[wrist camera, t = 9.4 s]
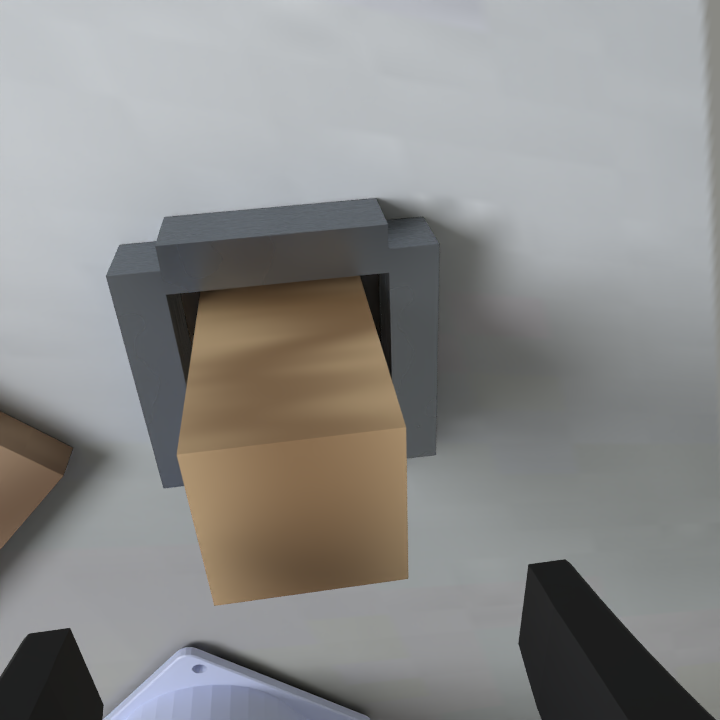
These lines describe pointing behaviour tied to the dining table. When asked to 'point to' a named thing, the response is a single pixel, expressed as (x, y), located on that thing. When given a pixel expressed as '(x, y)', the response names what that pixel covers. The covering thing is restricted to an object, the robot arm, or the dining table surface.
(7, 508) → the stand collar
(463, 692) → the dining table surface
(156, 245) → the socket block
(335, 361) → the oak peg
